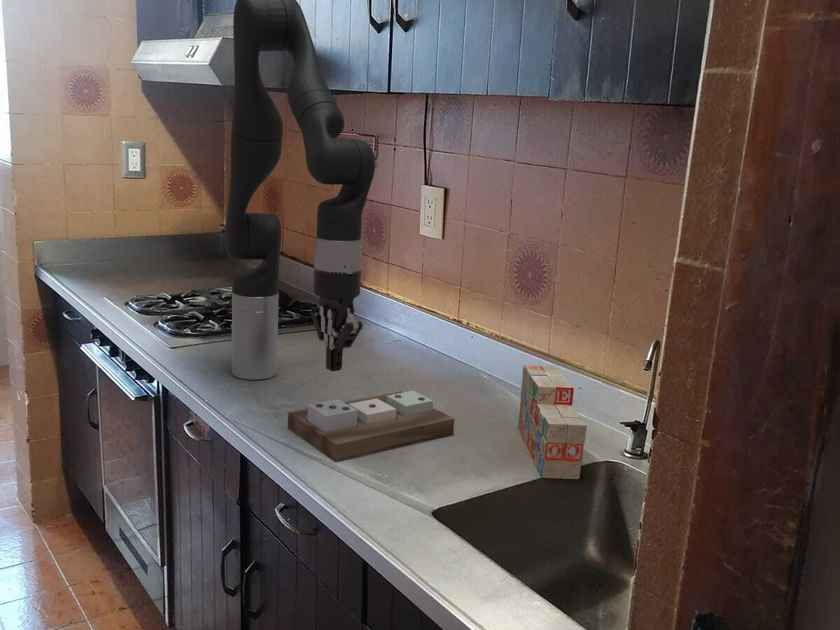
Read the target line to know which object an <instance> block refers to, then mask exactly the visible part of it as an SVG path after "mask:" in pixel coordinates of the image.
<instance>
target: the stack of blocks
mask: <svg viewBox="0 0 840 630" xmlns="http://www.w3.org/2000/svg"><path fill="white" fill-rule="evenodd" d="M521 380H522V381H521V385H520V386H521V389H520V402H519V403H520V405H519V413H518V427H517V429H518V431H519V434H520V437H521V438H522V440H523V442H524V446H525V447H526V448H527V450H528V452H529V453H530V454H529V455H531V457H532V459H533V463H534V466H535V467H536V469H537V471H538V473H539V475H540V477H541V478H542V479H563V480H579V479H580V477H581V469H582V461H583V455H584V454H583V452H584V446H585V445H584V444H585V443H586V442H585V441H586V437H587V436H586V435H587V423H586V422H585V421H584V419H582V416H581V415H580V414H579V412H578V411H577V410H576V408H575V407H574V406H573V402H574V401H573V400H574V390H575V387H574V386H573V385H572V383H570V382H569V380H568V378H566V377H565V375H564V374H563V372H562V371H561V369H560V368H559V367H558V366H552V365H541V366H540V365H526V364H525V365H523V366H522V379H521Z"/></svg>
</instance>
